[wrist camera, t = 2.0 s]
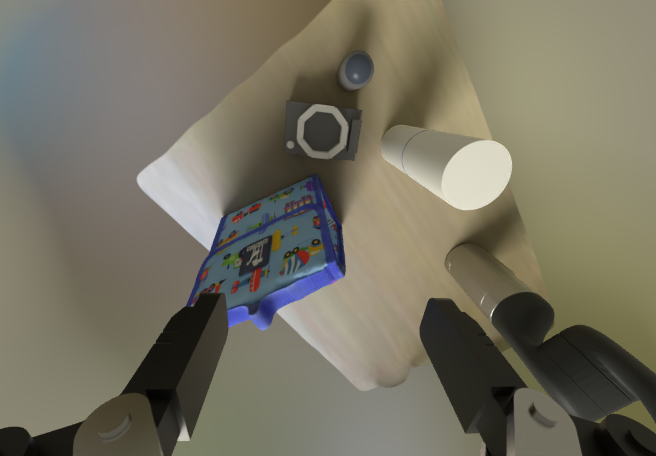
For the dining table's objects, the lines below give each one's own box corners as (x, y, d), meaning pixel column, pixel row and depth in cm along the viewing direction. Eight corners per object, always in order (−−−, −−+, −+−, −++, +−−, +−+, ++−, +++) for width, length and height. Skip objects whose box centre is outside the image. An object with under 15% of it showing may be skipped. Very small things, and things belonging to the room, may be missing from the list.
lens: (365, 62, 42) (377, 52, 34) (360, 92, 44) (371, 89, 36) (338, 58, 42) (345, 47, 34) (335, 89, 43) (340, 85, 36)
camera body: (356, 110, 45) (363, 110, 39) (350, 155, 48) (355, 162, 42) (289, 101, 44) (285, 99, 38) (286, 148, 47) (283, 154, 41)
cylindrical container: (402, 115, 46) (491, 123, 23) (424, 145, 48) (523, 177, 26) (372, 144, 48) (427, 176, 25) (395, 171, 50) (463, 222, 28)
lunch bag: (316, 171, 49) (322, 241, 23) (342, 227, 55) (371, 335, 29) (220, 215, 52) (130, 322, 26) (255, 264, 58) (209, 393, 32)
